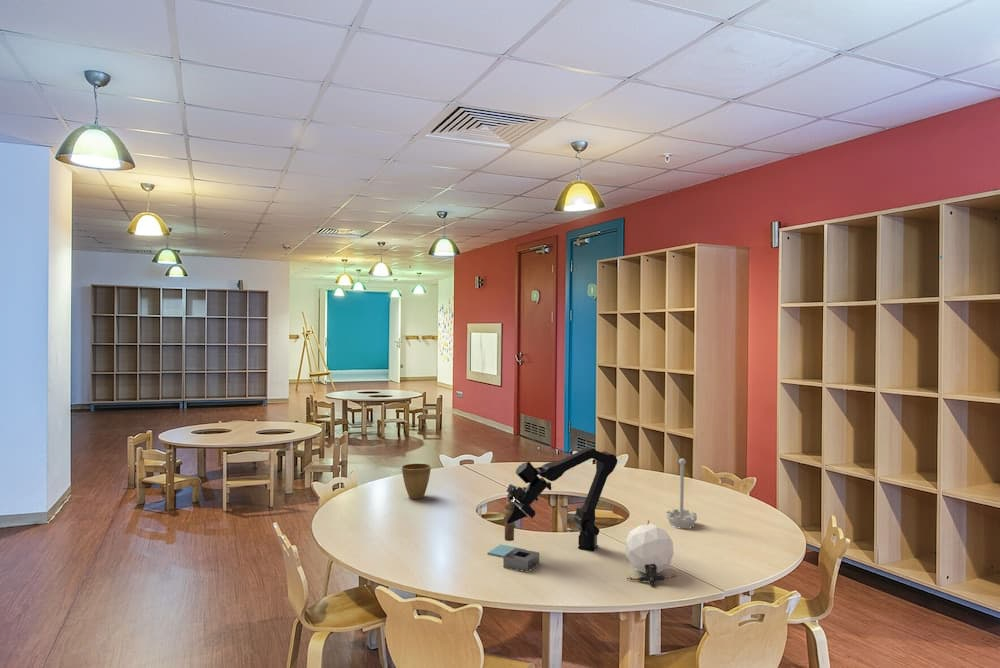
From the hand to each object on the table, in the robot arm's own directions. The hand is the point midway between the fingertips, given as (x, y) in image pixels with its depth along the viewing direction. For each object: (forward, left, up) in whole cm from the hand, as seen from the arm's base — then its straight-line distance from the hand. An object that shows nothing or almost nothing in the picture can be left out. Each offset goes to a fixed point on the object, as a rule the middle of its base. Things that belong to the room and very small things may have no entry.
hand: (506, 521), depth 248 cm
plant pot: (+79, -51, -14) cm, 95 cm away
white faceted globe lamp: (-53, -10, -14) cm, 56 cm away
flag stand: (-50, -74, -14) cm, 90 cm away
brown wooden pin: (-1, -1, -7) cm, 7 cm away
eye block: (-9, +5, -13) cm, 17 cm away
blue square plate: (+2, -4, -13) cm, 14 cm away
